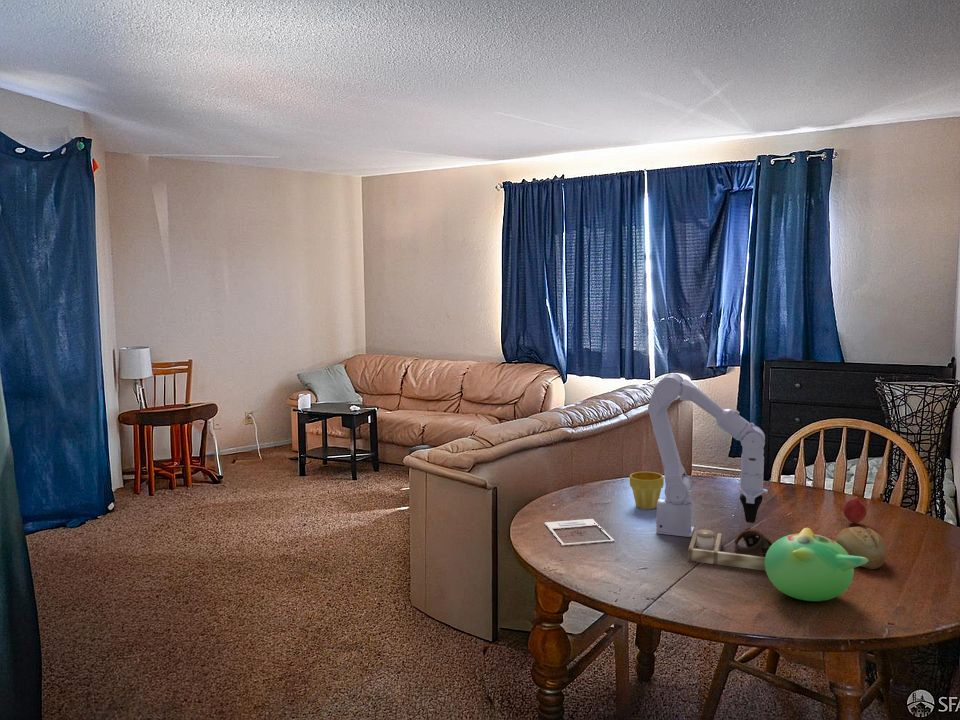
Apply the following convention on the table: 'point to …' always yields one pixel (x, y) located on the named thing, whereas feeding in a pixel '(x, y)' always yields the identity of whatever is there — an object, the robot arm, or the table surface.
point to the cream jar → (705, 539)
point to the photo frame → (573, 524)
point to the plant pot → (646, 488)
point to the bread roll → (863, 545)
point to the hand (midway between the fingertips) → (750, 521)
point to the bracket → (723, 556)
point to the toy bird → (810, 566)
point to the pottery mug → (752, 543)
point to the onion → (854, 510)
